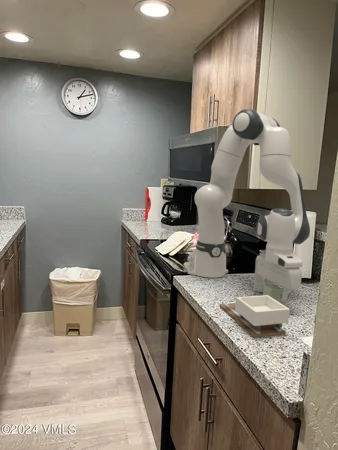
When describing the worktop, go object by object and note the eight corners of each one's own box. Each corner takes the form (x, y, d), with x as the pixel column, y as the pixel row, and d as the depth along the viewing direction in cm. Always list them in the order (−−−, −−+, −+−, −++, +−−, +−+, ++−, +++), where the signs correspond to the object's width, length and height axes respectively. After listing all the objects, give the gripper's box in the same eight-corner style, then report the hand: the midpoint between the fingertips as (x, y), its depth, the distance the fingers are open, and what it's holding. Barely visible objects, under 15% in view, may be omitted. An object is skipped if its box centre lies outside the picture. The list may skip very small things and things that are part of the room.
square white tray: (234, 316, 105) (236, 297, 104) (265, 313, 109) (267, 295, 108) (253, 332, 95) (255, 312, 94) (287, 329, 99) (289, 309, 98)
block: (262, 301, 123) (264, 285, 122) (273, 300, 125) (275, 284, 124) (269, 306, 119) (271, 289, 118) (280, 305, 120) (282, 288, 119)
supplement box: (273, 288, 138) (276, 257, 136) (272, 294, 131) (276, 261, 129) (254, 285, 140) (257, 254, 138) (252, 291, 133) (255, 259, 131)
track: (219, 306, 116) (219, 302, 116) (245, 304, 119) (246, 300, 119) (254, 338, 96) (255, 333, 95) (285, 334, 99) (286, 330, 98)
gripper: (253, 249, 128) (251, 285, 130) (290, 264, 109) (285, 306, 111) (268, 249, 130) (265, 284, 132) (306, 263, 111) (302, 304, 113)
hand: (275, 294), depth 121 cm, fingers open, 8 cm apart
